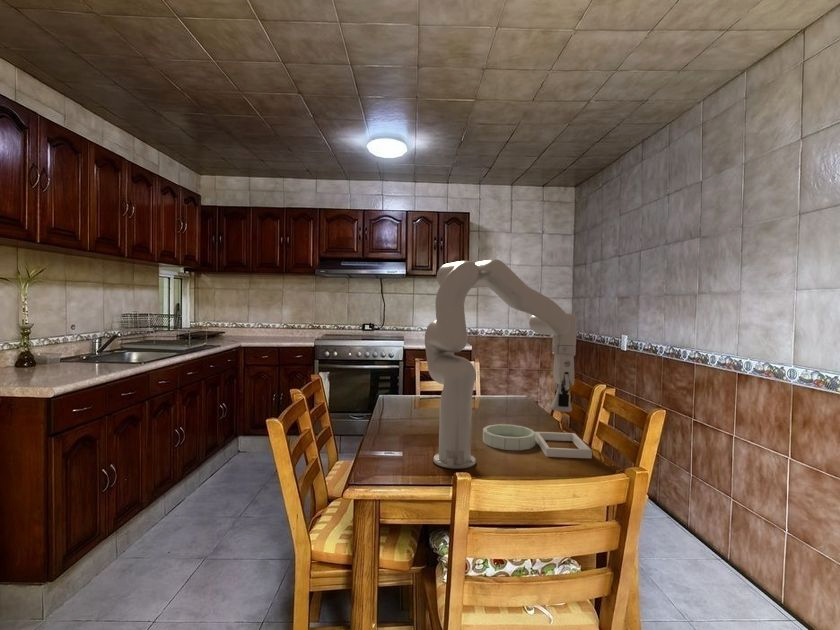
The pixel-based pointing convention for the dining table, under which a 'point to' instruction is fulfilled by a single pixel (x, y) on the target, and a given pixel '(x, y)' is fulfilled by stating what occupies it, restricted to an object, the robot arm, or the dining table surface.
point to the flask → (555, 402)
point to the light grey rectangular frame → (563, 452)
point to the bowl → (508, 437)
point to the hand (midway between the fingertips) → (561, 404)
